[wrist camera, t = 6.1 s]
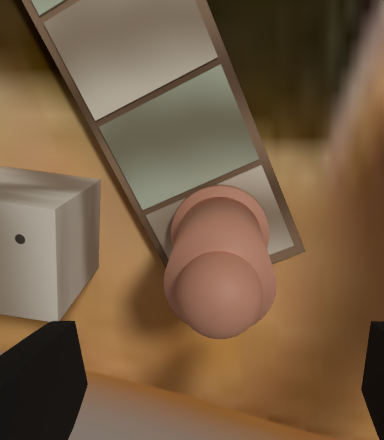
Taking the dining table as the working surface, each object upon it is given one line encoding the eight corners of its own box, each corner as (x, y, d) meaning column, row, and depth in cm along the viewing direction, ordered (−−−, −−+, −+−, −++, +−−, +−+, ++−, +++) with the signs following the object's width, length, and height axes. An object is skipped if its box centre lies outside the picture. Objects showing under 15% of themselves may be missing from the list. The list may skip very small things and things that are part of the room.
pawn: (287, 217, 16) (336, 301, 9) (232, 287, 17) (240, 405, 11) (204, 165, 15) (192, 214, 9) (156, 243, 17) (113, 336, 10)
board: (302, 245, 17) (305, 252, 16) (182, 289, 18) (181, 297, 18) (121, -211, 12) (114, -233, 11) (-26, -100, 13) (-41, -113, 13)
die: (101, 179, 17) (54, 209, 12) (98, 267, 19) (57, 324, 14) (4, 166, 17) (-80, 191, 12) (10, 254, 19) (-60, 307, 14)
